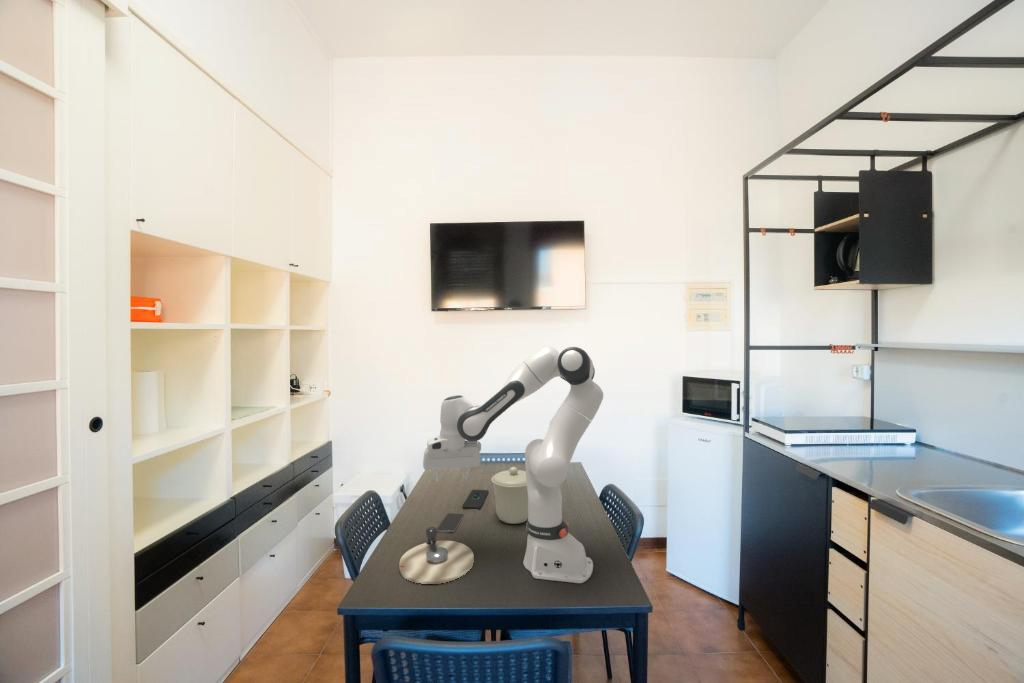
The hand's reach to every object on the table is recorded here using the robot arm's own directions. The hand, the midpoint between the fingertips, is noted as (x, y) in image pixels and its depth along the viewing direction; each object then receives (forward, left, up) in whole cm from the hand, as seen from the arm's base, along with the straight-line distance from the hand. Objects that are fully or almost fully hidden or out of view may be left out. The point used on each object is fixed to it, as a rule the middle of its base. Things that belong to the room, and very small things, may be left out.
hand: (451, 480), depth 147 cm
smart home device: (+11, -39, -24) cm, 47 cm away
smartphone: (+10, -15, -24) cm, 30 cm away
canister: (-12, -28, -24) cm, 39 cm away
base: (-1, +12, -23) cm, 26 cm away
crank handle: (+1, +9, -22) cm, 23 cm away
